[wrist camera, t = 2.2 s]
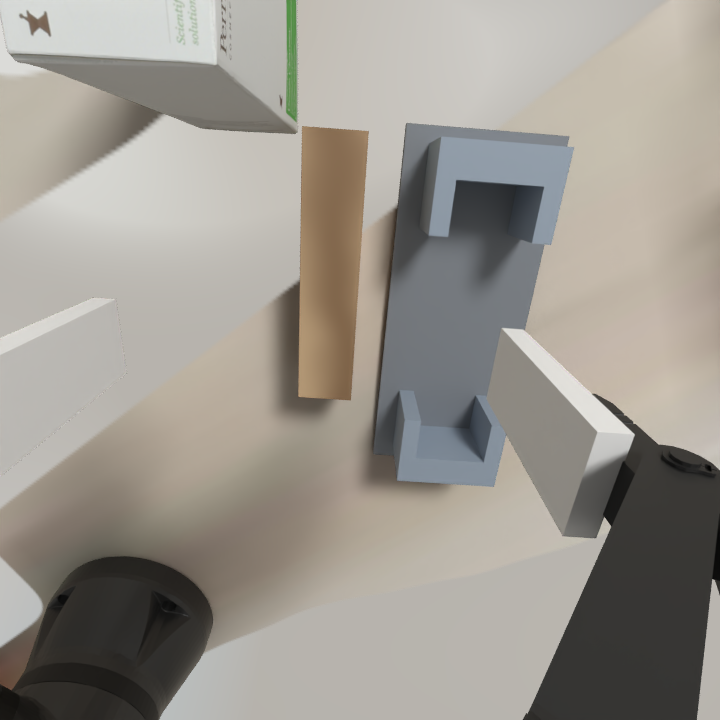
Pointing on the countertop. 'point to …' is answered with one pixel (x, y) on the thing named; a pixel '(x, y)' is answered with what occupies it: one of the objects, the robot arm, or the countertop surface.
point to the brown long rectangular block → (330, 258)
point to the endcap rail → (460, 291)
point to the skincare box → (171, 55)
